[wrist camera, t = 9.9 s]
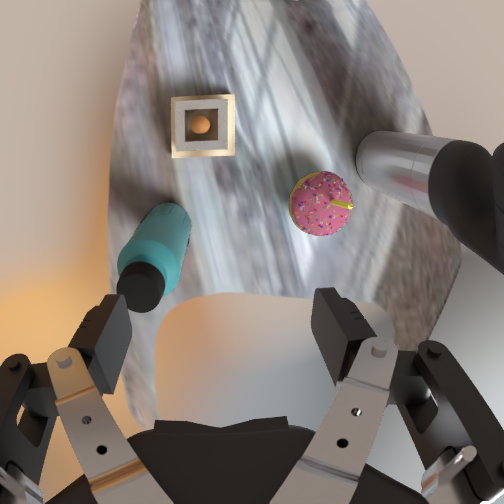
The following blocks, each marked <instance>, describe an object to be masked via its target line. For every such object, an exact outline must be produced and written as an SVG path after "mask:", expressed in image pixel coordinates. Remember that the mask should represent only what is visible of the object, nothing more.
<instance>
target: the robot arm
mask: <svg viewBox="0 0 504 504" xmlns="http://www.w3.org/2000/svg"><path fill="white" fill-rule="evenodd" d="M356 167H357V171H358V173H359V176H360V177H361V179H362V180H363V182H364V183H365V184H367V185H368V186H369V187H371V188H373V189H375V190H377V191H379V192H382V193H384V194H386V195H388V196H390V197H392V198H394V199H396V200H398V201H401V202H403V203H405V204H407V205H409V206H411V207H413V208H415V209H417V210H419V211H421V212H423V213H425V214H427V215H429V216H431V217H433V218H435V219H436V220H438V221H440V222H442V223H444V224H445V225H447V226H448V227H449V229H450V230H451V232H452V233H453V235H454V236H455V237H456V238H457V239H458V240H459V241H460V242H461V243H463V244H464V245H465V246H466V247H468V248H469V249H471V250H472V251H473V252H475V253H476V254H477V255H479V256H480V257H481V258H483V259H484V260H485V261H487V262H488V263H489V264H490V265H492V266H493V267H494V268H495V269H497V270H498V271H499V272H501V273H502V274H503V275H504V143H502V144H500V145H499V146H498V147H497V148H496V149H495V151H494V153H493V156H491V155H490V153H489V152H488V151H487V150H486V149H485V148H483V147H482V146H480V145H478V144H476V143H473V142H469V141H462V140H456V139H450V138H442V137H436V136H428V135H420V134H411V133H401V132H392V131H375V132H372V133H370V134H369V135H367V136H366V137H365V138H364V139H363V140H362V141H361V143H360V145H359V147H358V150H357V154H356ZM311 328H312V332H313V335H314V337H315V340H316V342H317V344H318V347H319V349H320V351H321V354H322V356H323V358H324V361H325V363H326V366H327V368H328V370H329V373H330V375H331V377H332V380H333V383H334V385H335V387H340V389H339V390H338V392H337V394H336V396H335V398H334V400H333V402H332V404H331V406H330V408H329V410H328V412H327V414H326V415H325V417H324V419H323V421H322V423H321V425H320V426H319V428H318V430H317V432H315V431H313V430H310V429H308V428H304V427H300V426H294V425H288V421H287V416H282V417H273V418H263V419H253V420H249V421H246V422H242V423H238V424H234V425H231V426H227V427H222V428H218V427H212V426H207V425H202V424H197V423H193V422H188V421H165V420H155V424H154V429H151V430H146V431H143V432H140V433H137V434H135V435H133V436H131V437H129V438H128V439H126V438H125V437H124V435H123V433H122V432H121V430H120V429H119V427H118V425H117V424H116V422H115V420H114V419H113V417H112V415H111V413H110V412H109V410H108V408H107V406H106V405H105V403H104V401H103V399H102V396H103V393H104V394H114V390H115V387H116V384H117V380H118V377H119V374H120V371H121V368H122V365H123V362H124V359H125V356H126V353H127V350H128V347H129V344H130V341H131V338H132V325H131V321H130V317H129V313H128V309H127V304H126V300H125V297H124V295H122V294H107V295H105V297H104V299H103V300H102V302H101V303H100V305H99V306H95V307H93V308H92V309H91V310H90V311H88V312H87V314H86V316H85V317H84V319H83V322H81V324H80V326H79V328H78V329H77V331H76V333H75V334H74V336H73V338H72V340H71V342H70V344H69V345H68V347H65V348H61V349H59V350H56V351H55V352H53V353H52V354H51V355H50V356H49V358H48V361H47V362H45V363H38V364H31V363H30V361H29V359H28V357H27V356H26V355H24V354H14V355H11V356H10V357H8V358H7V359H5V361H4V362H3V363H2V365H1V366H0V504H489V503H491V502H492V501H494V500H495V499H497V498H498V497H499V496H500V495H502V494H503V493H504V430H503V428H502V427H501V425H500V423H499V422H498V420H497V419H496V417H495V416H494V414H493V412H492V411H491V409H490V408H489V406H488V405H487V403H486V402H485V400H484V399H483V397H482V396H481V394H480V393H479V391H478V390H477V388H476V387H475V386H474V384H473V383H472V381H471V380H470V378H469V377H468V376H467V374H466V373H465V371H464V370H463V369H462V367H461V366H460V364H459V363H458V362H457V360H456V359H455V358H454V356H453V355H452V354H451V352H450V351H449V350H448V349H447V348H446V346H445V345H443V344H441V343H439V342H437V341H431V340H426V341H423V342H421V343H420V344H419V346H418V348H417V350H416V351H400V350H397V347H396V346H395V345H394V344H393V343H392V342H391V341H389V340H387V339H385V338H381V337H377V335H376V334H375V332H374V331H373V330H372V328H371V327H370V325H369V324H368V322H367V321H366V319H364V316H363V315H362V314H361V313H360V311H359V309H358V308H357V306H356V305H355V304H354V303H353V302H351V301H350V300H348V299H347V298H341V297H340V295H339V294H338V292H337V291H336V289H335V288H334V287H329V288H317V289H316V290H315V294H314V301H313V309H312V316H311ZM431 393H432V395H433V396H434V398H435V400H436V401H437V404H438V407H437V405H436V404H435V402H434V400H433V398H432V396H431ZM386 404H396V405H397V407H398V409H399V411H400V413H401V415H402V417H403V420H404V422H405V424H406V426H407V429H408V431H409V433H410V435H411V437H412V440H413V442H414V444H415V447H416V449H417V451H418V454H419V456H420V458H421V461H422V463H423V465H424V468H425V470H426V471H425V472H424V474H423V476H422V480H421V486H422V489H421V493H422V495H421V494H420V493H418V492H417V491H415V490H413V489H411V488H409V487H407V486H405V485H403V484H402V483H400V482H398V481H396V480H394V479H392V478H391V477H389V476H387V475H385V474H384V473H381V472H380V471H378V470H376V469H375V468H373V467H372V466H370V465H368V464H366V460H367V458H368V455H369V453H370V450H371V447H372V445H373V442H374V439H375V436H376V434H377V431H378V428H379V425H380V422H381V419H382V416H383V413H384V410H385V407H386ZM21 405H22V406H23V407H24V408H25V409H24V411H23V414H22V416H21V419H20V422H19V424H18V426H17V420H16V419H17V414H18V412H19V410H20V407H21ZM57 416H60V418H61V421H62V423H63V426H64V429H65V431H66V433H67V435H68V438H69V441H70V443H71V445H72V448H73V450H74V452H75V454H76V457H77V459H78V461H79V463H80V465H81V467H82V469H83V471H84V474H83V475H82V476H80V477H79V478H78V479H76V480H75V481H74V482H73V483H71V484H70V485H69V486H67V487H66V488H65V489H63V490H62V491H61V492H60V493H58V494H57V495H56V496H54V497H53V498H52V499H50V500H49V501H47V502H46V503H45V502H44V501H43V494H42V491H41V489H40V488H39V481H40V477H41V472H42V468H43V464H44V460H45V456H46V452H47V449H48V445H49V441H50V438H51V434H52V431H53V428H54V425H55V421H56V418H57Z"/></svg>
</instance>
